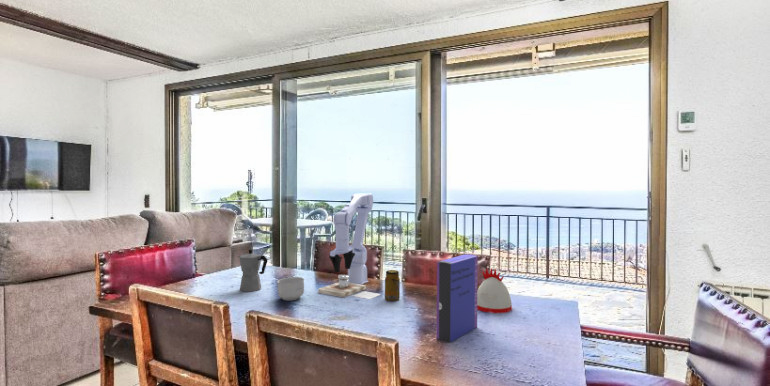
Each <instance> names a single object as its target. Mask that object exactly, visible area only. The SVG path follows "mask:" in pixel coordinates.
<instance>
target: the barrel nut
mask: <svg viewBox="0 0 770 386" xmlns="http://www.w3.org/2000/svg"><path fill="white" fill-rule="evenodd" d="M337 278H338V282H339V288H341V289H345V288H348V279H349V275H348V274H339V275H338V276H337Z"/></svg>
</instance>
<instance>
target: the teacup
mask: <svg viewBox="0 0 770 386" xmlns="http://www.w3.org/2000/svg"><path fill="white" fill-rule="evenodd" d="M276 285H277V292H278V293H277V294H278V296H279V297H280V298H281V299H282V300H283V301H290V302H291V301H297V300H299V299H300V298H301V297H302V296H303V294H304V292H305V278H304V277H300V276H289V277H284V278H280V279H279V280H277V281H276Z"/></svg>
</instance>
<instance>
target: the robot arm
mask: <svg viewBox="0 0 770 386" xmlns="http://www.w3.org/2000/svg"><path fill="white" fill-rule="evenodd" d="M373 205H374V197H373V194H372V193H371V192H370V193H364V192H363V193H356V192H353V193H352V195H351V197H350V202H349V203H346V204H345V205H344V206H343V208H342V209H341V210H340V211H337V212H336V213H335V214H334V215H333V218H332V219H333V224H334V229H335V248H334V249H333V250H331V251H329V255H328V256H329V257H328V258H329V260H330V262H331V263H332V266H333V270H334V272H335V273H340V270H341V261H342V259H343V261H344V267H345V269H346V270H347V275H349V279H348V283H354V284H360V285H364V284H365V283H366V284H367V283H368V282H370V281H369V280H368V268H367V265H366V263H367V259H368V250H367V248H366V246H364V238H365V233H366V228H367V223H368V222H367V221H368V217H369V214H370V213H371V212H372V210H373ZM356 213H357V218H356V224H355V229H354V234H353V239H352V243H351V244H350V225H351V224H352V219H353V217H354V215H355V214H356ZM340 255H343V256H340Z"/></svg>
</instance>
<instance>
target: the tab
mask: <svg viewBox="0 0 770 386" xmlns="http://www.w3.org/2000/svg"><path fill="white" fill-rule="evenodd" d="M379 296H382V293H376V292H370V291H364V290H363V291H360V292H357V293H355V294H352V297H356V298H361V299H366V300H372V299H374V298H377V297H379Z"/></svg>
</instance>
